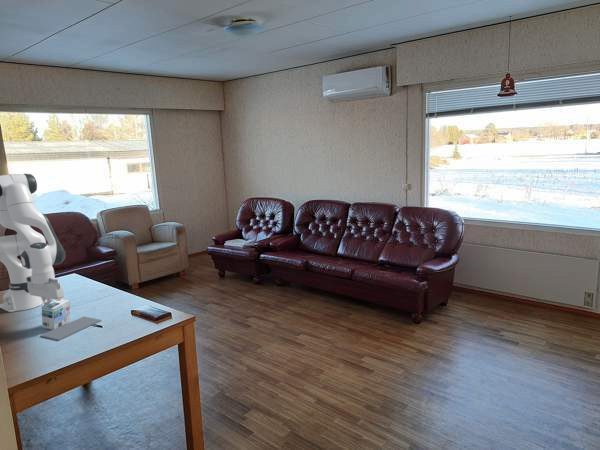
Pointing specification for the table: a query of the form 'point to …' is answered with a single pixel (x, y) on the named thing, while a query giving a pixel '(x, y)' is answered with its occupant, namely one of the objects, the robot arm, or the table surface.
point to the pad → (70, 328)
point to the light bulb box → (55, 314)
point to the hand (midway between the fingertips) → (48, 305)
